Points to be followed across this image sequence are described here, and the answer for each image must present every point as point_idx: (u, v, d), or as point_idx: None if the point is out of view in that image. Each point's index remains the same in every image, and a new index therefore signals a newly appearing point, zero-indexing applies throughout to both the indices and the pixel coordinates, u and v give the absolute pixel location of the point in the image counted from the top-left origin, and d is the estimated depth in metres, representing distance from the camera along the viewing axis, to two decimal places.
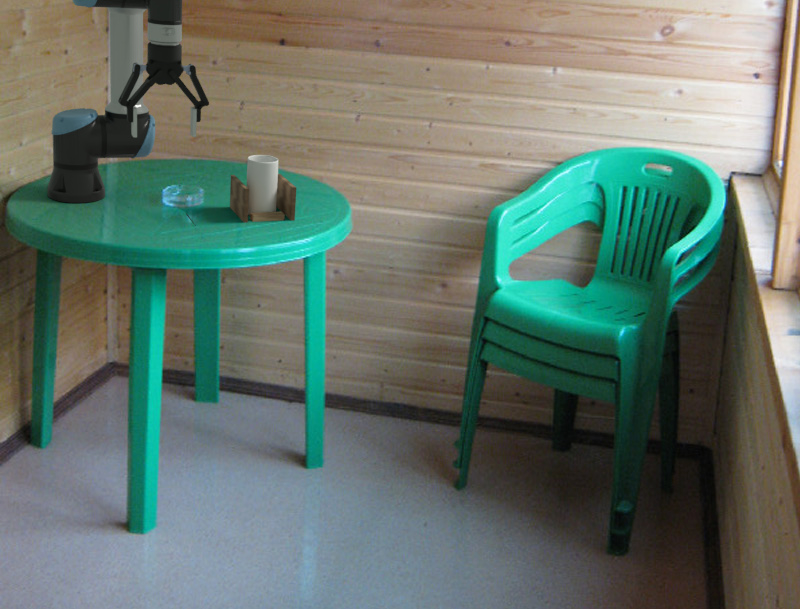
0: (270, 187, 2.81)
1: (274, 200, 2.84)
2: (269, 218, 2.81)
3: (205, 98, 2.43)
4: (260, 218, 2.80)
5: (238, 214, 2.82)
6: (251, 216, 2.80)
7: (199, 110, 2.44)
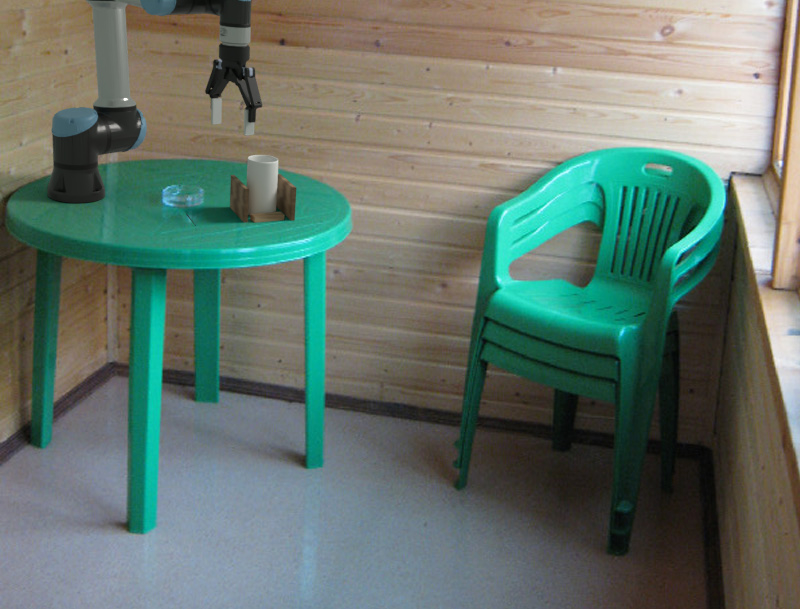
0: (270, 187, 2.81)
1: (274, 200, 2.84)
2: (269, 219, 2.80)
3: (252, 100, 2.56)
4: (261, 219, 2.79)
5: (238, 214, 2.82)
6: (252, 217, 2.79)
7: (250, 111, 2.58)
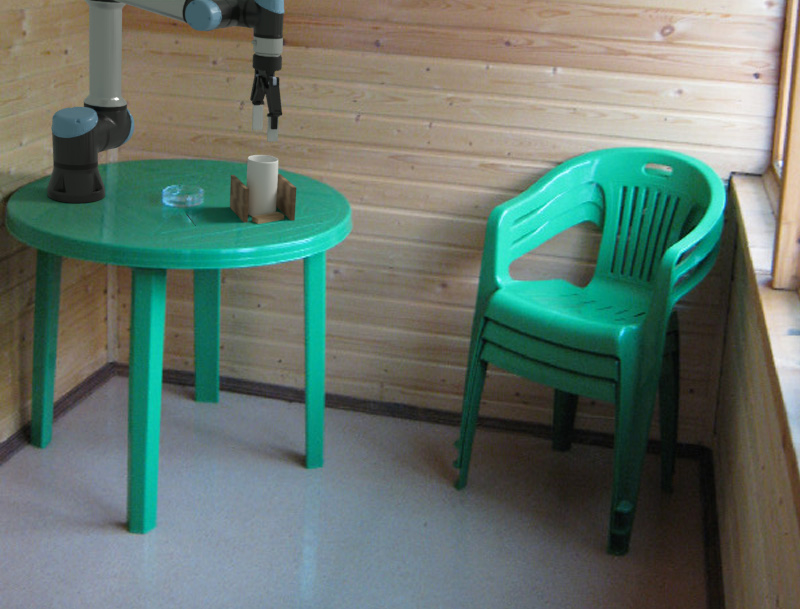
0: (270, 187, 2.81)
1: (274, 200, 2.84)
2: (271, 220, 2.80)
3: (272, 108, 2.68)
4: (264, 221, 2.79)
5: (238, 214, 2.82)
6: (254, 220, 2.78)
7: (272, 118, 2.70)
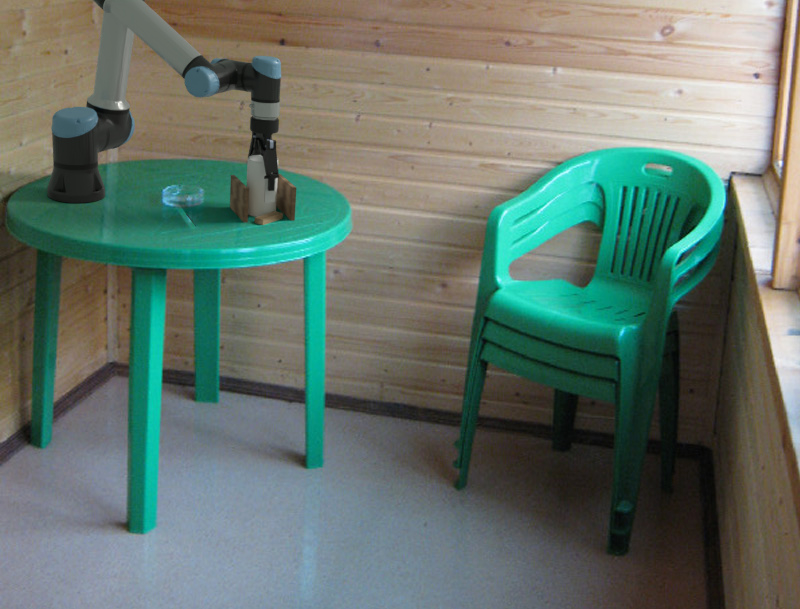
0: None
1: None
2: (273, 219, 2.80)
3: (269, 171, 2.74)
4: (267, 221, 2.78)
5: (238, 214, 2.82)
6: (257, 221, 2.77)
7: (269, 180, 2.76)
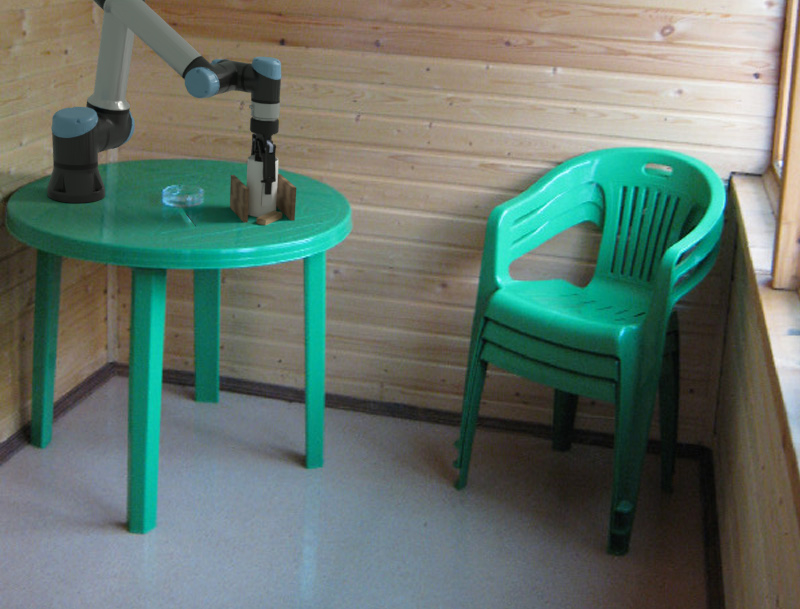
0: None
1: (274, 200, 2.84)
2: (274, 219, 2.80)
3: (266, 175, 2.76)
4: (269, 221, 2.78)
5: (238, 214, 2.82)
6: (259, 221, 2.77)
7: (266, 184, 2.79)
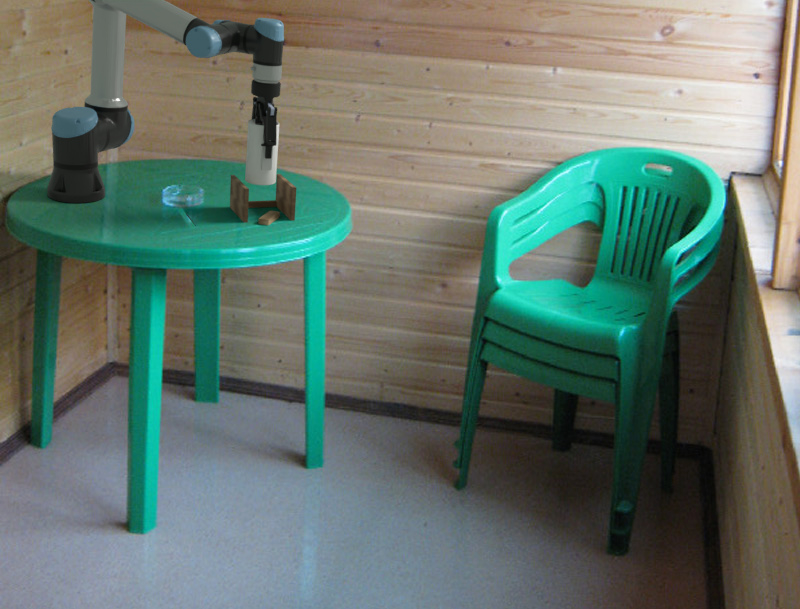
0: None
1: (274, 165, 2.81)
2: (274, 219, 2.81)
3: (267, 138, 2.73)
4: (271, 221, 2.79)
5: (238, 214, 2.82)
6: (262, 221, 2.77)
7: (266, 148, 2.75)
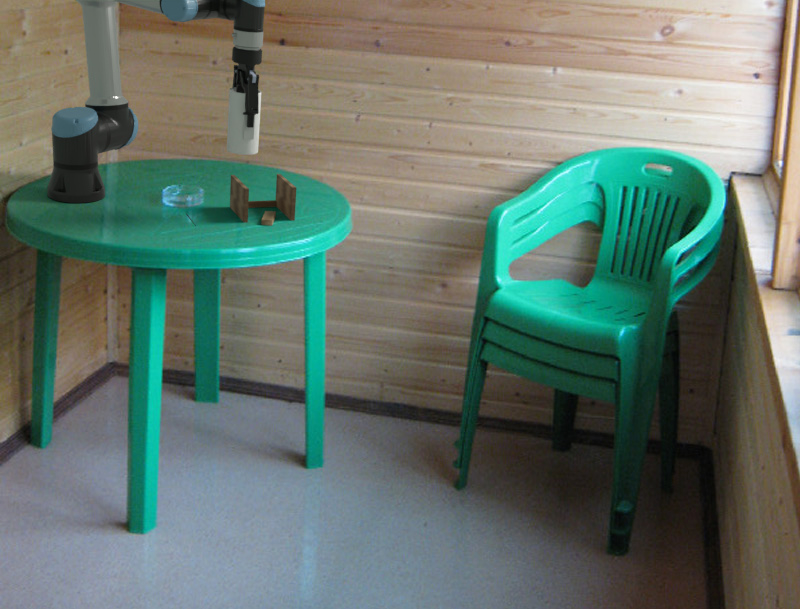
0: None
1: (256, 134, 2.75)
2: None
3: (248, 106, 2.67)
4: None
5: (238, 214, 2.82)
6: (265, 222, 2.77)
7: (248, 116, 2.70)
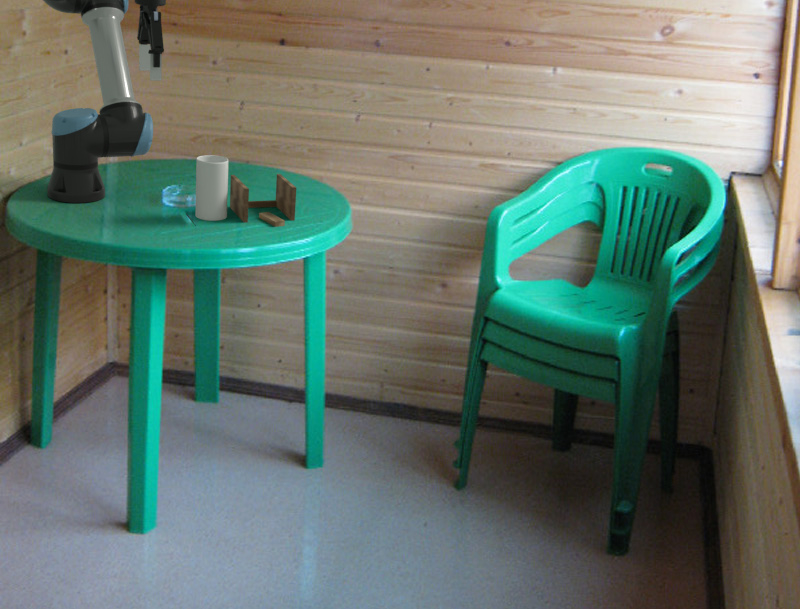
0: (220, 188, 2.75)
1: (224, 201, 2.77)
2: None
3: (153, 44, 2.55)
4: None
5: (238, 214, 2.82)
6: (278, 224, 2.77)
7: (154, 56, 2.57)
